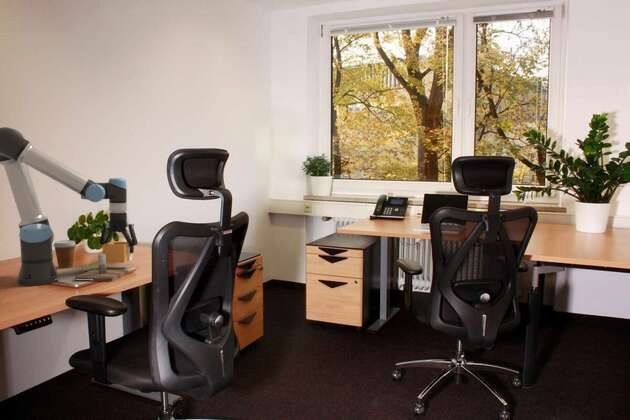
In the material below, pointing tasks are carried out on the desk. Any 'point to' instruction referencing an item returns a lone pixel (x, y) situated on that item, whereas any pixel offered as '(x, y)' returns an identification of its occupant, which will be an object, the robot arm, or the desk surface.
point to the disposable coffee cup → (65, 253)
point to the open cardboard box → (116, 252)
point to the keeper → (103, 272)
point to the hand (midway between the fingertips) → (118, 259)
